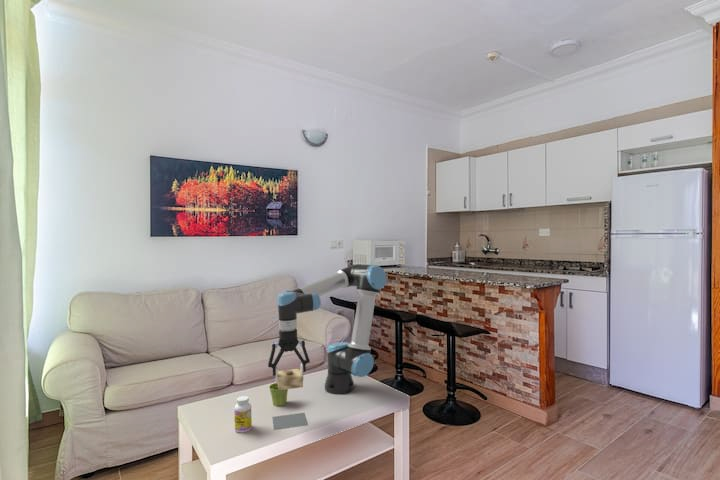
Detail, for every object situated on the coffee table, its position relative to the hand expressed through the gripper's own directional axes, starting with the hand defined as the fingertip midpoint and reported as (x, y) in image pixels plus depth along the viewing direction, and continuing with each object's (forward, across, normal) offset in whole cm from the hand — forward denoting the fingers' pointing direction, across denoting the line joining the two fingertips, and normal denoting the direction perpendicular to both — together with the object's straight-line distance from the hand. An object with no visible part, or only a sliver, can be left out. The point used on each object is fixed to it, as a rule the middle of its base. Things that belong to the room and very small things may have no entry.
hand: (289, 381), depth 168 cm
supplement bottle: (+17, -19, -1) cm, 26 cm away
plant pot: (+18, -4, +19) cm, 26 cm away
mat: (+17, 0, 0) cm, 17 cm away
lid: (+1, 0, 0) cm, 1 cm away
